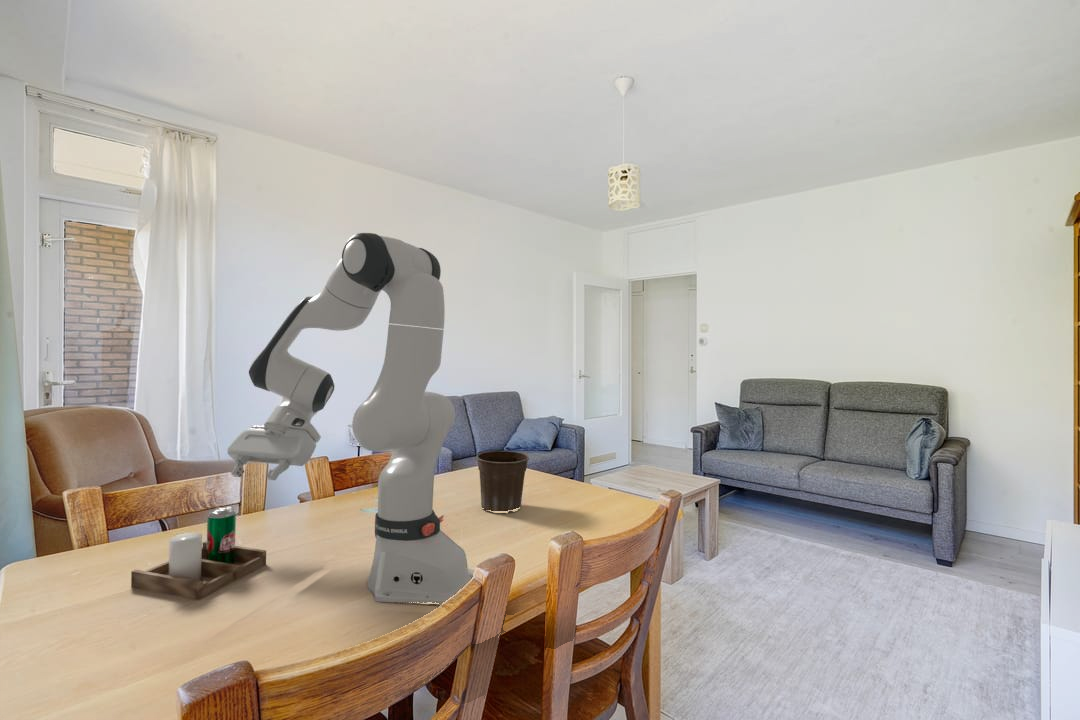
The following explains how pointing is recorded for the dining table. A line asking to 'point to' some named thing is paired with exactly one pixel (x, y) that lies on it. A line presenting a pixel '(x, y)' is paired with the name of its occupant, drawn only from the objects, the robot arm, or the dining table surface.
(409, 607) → the dining table surface
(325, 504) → the dining table surface
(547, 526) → the dining table surface
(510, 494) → the plant pot
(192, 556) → the white rounded cylinder
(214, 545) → the soda can
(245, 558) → the divided compartment tray
